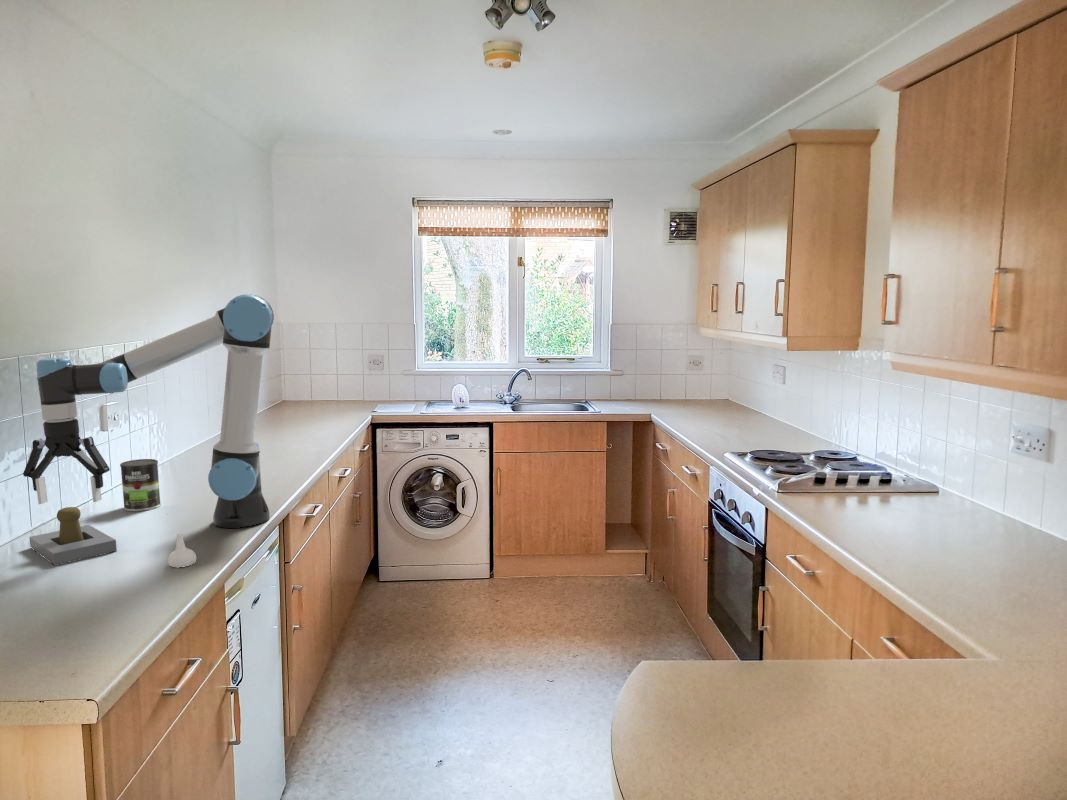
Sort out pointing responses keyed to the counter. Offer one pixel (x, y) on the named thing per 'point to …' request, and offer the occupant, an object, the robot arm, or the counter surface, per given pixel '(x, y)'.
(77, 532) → the cork
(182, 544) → the garlic bulb
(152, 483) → the coffee can
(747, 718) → the counter surface
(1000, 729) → the counter surface
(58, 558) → the dock board
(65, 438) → the robot arm
